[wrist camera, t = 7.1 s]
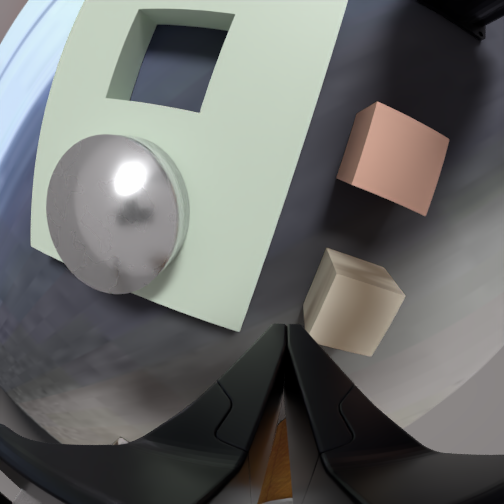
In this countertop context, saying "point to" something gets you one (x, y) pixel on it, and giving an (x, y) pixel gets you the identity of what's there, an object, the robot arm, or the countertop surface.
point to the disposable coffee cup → (278, 471)
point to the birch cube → (350, 303)
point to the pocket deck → (199, 130)
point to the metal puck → (117, 211)
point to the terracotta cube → (394, 157)
